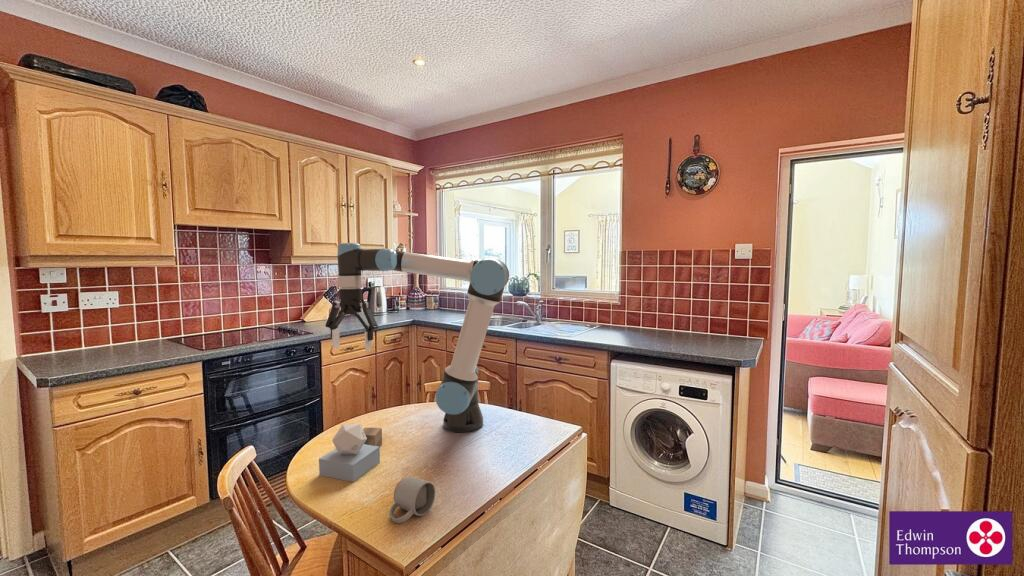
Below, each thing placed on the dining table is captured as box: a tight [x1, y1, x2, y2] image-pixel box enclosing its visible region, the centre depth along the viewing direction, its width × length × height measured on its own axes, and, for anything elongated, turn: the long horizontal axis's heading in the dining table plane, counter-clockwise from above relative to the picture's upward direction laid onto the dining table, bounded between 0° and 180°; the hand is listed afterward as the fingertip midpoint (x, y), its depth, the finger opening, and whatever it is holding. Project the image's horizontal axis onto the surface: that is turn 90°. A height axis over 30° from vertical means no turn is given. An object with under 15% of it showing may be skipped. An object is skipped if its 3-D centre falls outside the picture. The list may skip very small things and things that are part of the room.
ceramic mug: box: [389, 476, 436, 524], centre depth 102 cm, size 11×8×8 cm
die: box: [331, 423, 367, 455], centre depth 123 cm, size 8×9×10 cm
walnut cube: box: [362, 427, 383, 448], centre depth 137 cm, size 6×6×6 cm
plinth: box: [318, 444, 381, 483], centre depth 123 cm, size 12×12×5 cm
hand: (352, 348), depth 144 cm, fingers open, 13 cm apart
